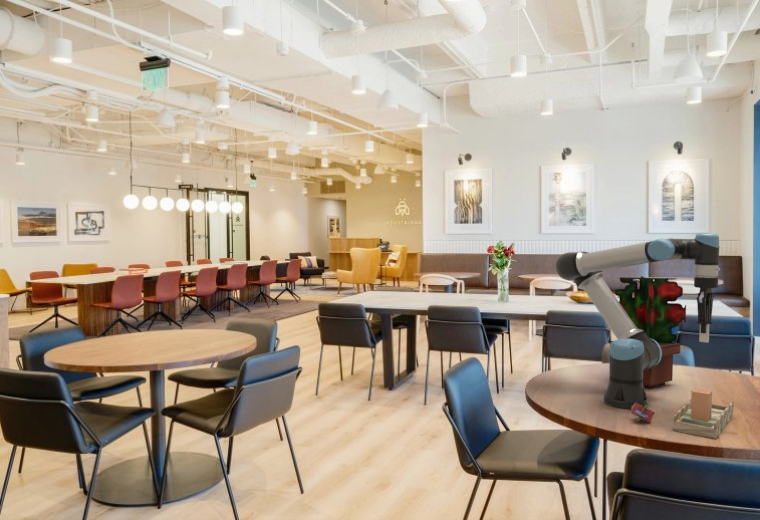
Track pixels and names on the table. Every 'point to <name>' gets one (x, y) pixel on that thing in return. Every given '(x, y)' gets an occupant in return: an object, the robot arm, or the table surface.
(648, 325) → the potted plant
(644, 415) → the icosahedron model
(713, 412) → the beige open frame
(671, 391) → the table surface
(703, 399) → the block
